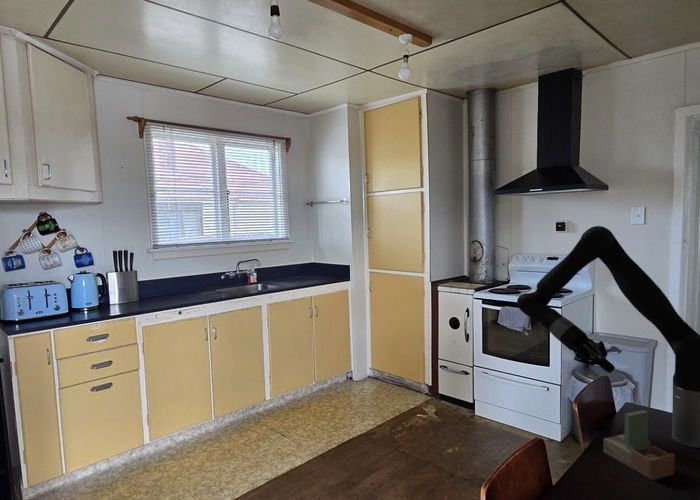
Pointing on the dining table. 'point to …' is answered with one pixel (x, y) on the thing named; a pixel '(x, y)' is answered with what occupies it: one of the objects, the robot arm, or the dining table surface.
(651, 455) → the ball
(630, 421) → the green rectangular slab
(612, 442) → the beige open box
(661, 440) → the dining table surface
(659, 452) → the cup
